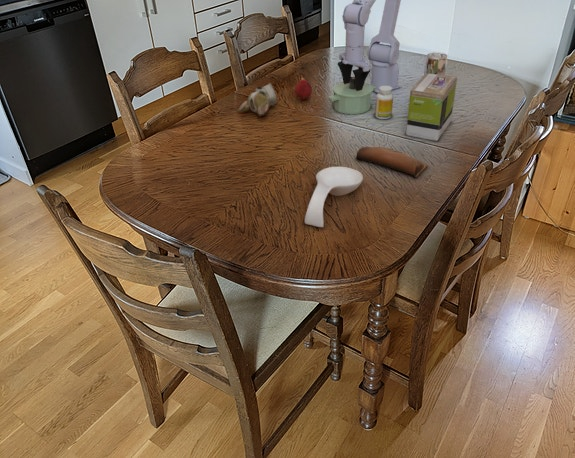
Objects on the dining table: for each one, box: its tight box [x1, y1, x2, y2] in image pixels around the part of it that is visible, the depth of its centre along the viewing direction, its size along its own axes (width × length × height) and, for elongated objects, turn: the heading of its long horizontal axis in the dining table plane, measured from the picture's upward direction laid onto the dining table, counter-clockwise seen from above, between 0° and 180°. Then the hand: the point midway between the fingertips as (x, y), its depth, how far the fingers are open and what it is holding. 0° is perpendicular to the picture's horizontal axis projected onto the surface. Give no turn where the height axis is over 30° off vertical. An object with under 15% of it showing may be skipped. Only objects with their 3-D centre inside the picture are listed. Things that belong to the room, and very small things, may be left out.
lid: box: [332, 76, 374, 97], centre depth 165 cm, size 13×13×5 cm
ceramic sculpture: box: [235, 82, 277, 117], centre depth 167 cm, size 11×9×15 cm
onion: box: [294, 77, 313, 101], centre depth 173 cm, size 6×6×8 cm
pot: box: [327, 85, 376, 115], centre depth 168 cm, size 12×18×6 cm
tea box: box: [405, 73, 458, 142], centre depth 150 cm, size 15×10×15 cm
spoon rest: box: [304, 166, 364, 228], centre depth 122 cm, size 24×12×7 cm, turn 157°
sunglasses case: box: [356, 146, 427, 178], centre depth 137 cm, size 18×7×7 cm
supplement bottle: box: [374, 86, 394, 120], centre depth 160 cm, size 5×5×10 cm
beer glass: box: [423, 52, 448, 76], centre depth 167 cm, size 7×7×15 cm
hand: (352, 86), depth 165 cm, fingers open, 7 cm apart
